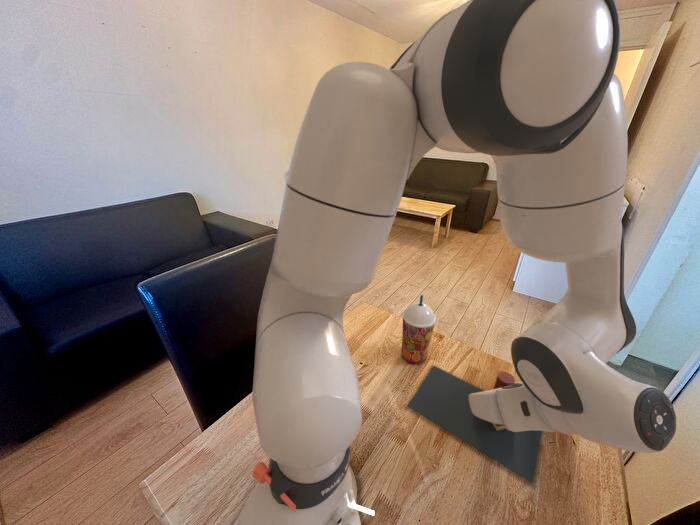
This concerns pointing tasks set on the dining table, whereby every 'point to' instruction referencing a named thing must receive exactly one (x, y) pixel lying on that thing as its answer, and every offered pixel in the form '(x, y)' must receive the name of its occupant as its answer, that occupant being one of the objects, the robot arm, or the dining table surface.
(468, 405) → the mat
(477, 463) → the dining table surface
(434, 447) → the dining table surface
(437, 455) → the dining table surface
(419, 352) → the smoothie
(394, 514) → the dining table surface
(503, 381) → the red cylinder on base
